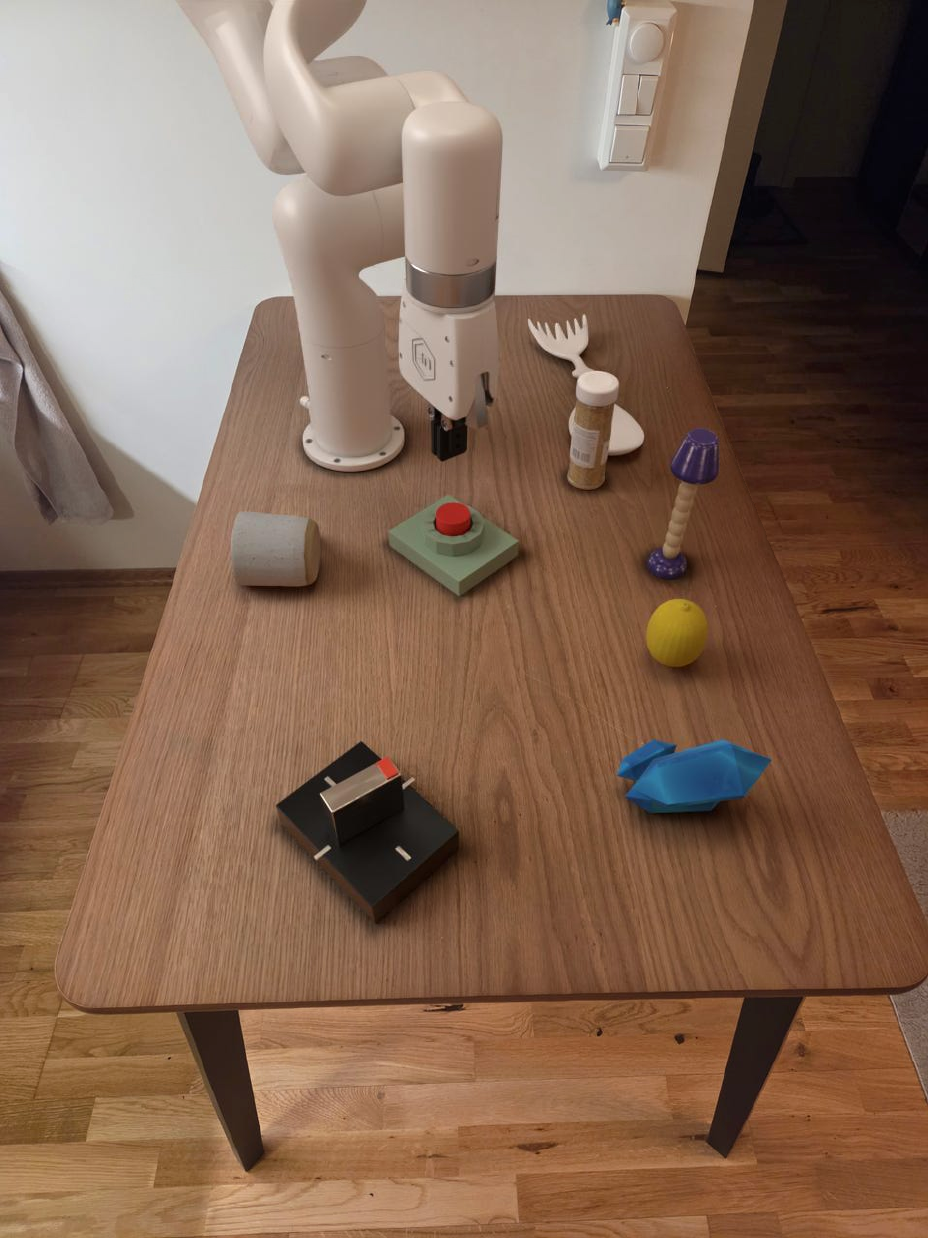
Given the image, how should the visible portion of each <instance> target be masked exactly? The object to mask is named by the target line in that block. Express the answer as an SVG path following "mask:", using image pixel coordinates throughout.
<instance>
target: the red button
mask: <svg viewBox="0 0 928 1238" xmlns="http://www.w3.org/2000/svg"><path fill="white" fill-rule="evenodd" d="M461 503H462V502H461ZM461 503H456V502H451V503H446V504H443V505H441V506H440V507H439V508H438V509H437V511H436V527H437V530H438V531H439V532H440V533H441V534H443V535H447V536H452V537H453V536H459V535H463V534H465V533H466V532H468V530H469V529H470V510H469V509H468V507H466V506H465V505H466V504H464V503H462V504H461ZM463 504H464V505H463Z"/></svg>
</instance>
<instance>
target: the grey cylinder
mask: <svg viewBox="0 0 928 1238" xmlns="http://www.w3.org/2000/svg"><path fill="white" fill-rule="evenodd" d="M320 563H321V533H320V527H319V524H318V522H316V520H315V519H312V518H310V517H305V516H300V515H292V514H277V513H267V512H257V511H250V510H249V511H247V510H243V511H239V512H238V513H237V514H236V517H235V519H234V522H233V525H232V531H231V537H230V565H231V566H230V567H231V570H232V571H231V572H232V575H233V578H234V581H235V583H236V584H237V585H238V586H259V587H261V586H262V587H279V586H280V587H304V586H310V585H312V584H313V583H314V582H316V581H317V578H318V576H319V570H320Z"/></svg>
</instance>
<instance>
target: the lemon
mask: <svg viewBox="0 0 928 1238" xmlns="http://www.w3.org/2000/svg"><path fill="white" fill-rule="evenodd" d="M708 627H709V626H708V620H707V617H706V614H705V612H704V611H703V610H702V608H701V607H700V606H699V605H698V604H696V603H695V602H693V601H691V600H689V599H685V598H674V599H669V600H667V601H664V602H663V603H661V604H660V605H659V606H658V607H657V608H656V609H655V610H654V612H653V613H652V615H651V616H650V619H649V621H648V623H647V626H646V633H645V640H646V647H647V649H648V651H649V653H650V655H651V656H652V657H653V658H654V660H656V661H657V662H658V663H660V664H662V665H663V666H667V667H669V668H679V667H684V666H685V667H686V666H687V665H690V664H691V663H693V662H694V661H696V660H697V659H698V657H699V656H700V655H701V654H702V652H703V651H704V649H705V647H706V643H707V640H708V635H709V630H708V629H709V628H708Z"/></svg>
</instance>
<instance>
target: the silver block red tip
mask: <svg viewBox="0 0 928 1238" xmlns="http://www.w3.org/2000/svg"><path fill="white" fill-rule="evenodd" d="M381 759H382V760H380V761H378V762H376V763H375V764H373V765H372V766H370V767H368V768H366V769H364V770H362V771H360V772H359V773H357V774H355V775H353V776H351V777H349V778H347V779H346V780H344V781H342V782H340V783H338V784H336V785H334V786H333V787H331V788H329V789H327V790H325V791H323V792H322V793H320V797H321V801H322V806H323V810H324V815H325V819H326V824H327V828H328V829H329V831H330V832H331V834H332V836H333V837H334V839H335V840H336V842H337V844H338V845H341V844H342V843H344V842H346V841H348V840H349V839H351V838H353V837H355V836H356V835H358V834H360V833H362V832H363V831H365V830H367V829H369V828H370V827H372V826H374V825H376V824H377V823H379V822H381V821H383V820H384V819H386V818H388V817H390V816H391V815H393V814H395V813H397V812H398V811H400V810H402V809H404V808H405V806H404V795H403V784H402V779H403V775H402V773H401V771H400V770H399V769H398V767H397V766H396V764H395V763H394V761H393V760H392V758H391V757H390V756H386V757H383V758H381Z"/></svg>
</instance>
